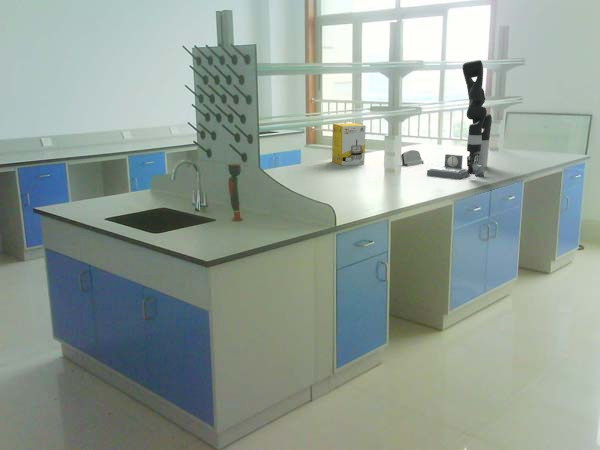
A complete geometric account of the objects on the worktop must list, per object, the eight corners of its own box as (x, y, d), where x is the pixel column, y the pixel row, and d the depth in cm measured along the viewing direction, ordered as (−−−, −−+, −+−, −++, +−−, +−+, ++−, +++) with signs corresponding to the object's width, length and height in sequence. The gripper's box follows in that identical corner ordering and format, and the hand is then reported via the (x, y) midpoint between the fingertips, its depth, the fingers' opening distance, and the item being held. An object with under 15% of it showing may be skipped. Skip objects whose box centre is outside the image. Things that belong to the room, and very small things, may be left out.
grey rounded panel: (407, 166, 385) (404, 150, 385) (402, 167, 389) (398, 152, 389) (424, 163, 396) (420, 148, 396) (418, 164, 399) (415, 150, 400)
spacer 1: (469, 172, 344) (470, 162, 342) (477, 173, 341) (478, 162, 339) (466, 173, 340) (466, 163, 338) (474, 174, 337) (475, 164, 335)
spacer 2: (476, 174, 356) (477, 164, 354) (485, 175, 353) (485, 165, 351) (473, 176, 352) (474, 166, 350) (482, 177, 349) (483, 166, 347)
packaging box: (354, 160, 407) (355, 123, 401) (364, 164, 392) (365, 125, 386) (332, 161, 402) (332, 123, 396) (341, 165, 387) (342, 126, 381)
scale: (437, 171, 367) (438, 153, 364) (469, 174, 356) (471, 156, 353) (426, 175, 354) (428, 156, 351) (459, 178, 343) (461, 159, 340)
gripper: (472, 140, 343) (470, 170, 348) (463, 143, 332) (461, 174, 337) (485, 141, 339) (482, 171, 344) (476, 144, 328) (474, 175, 333)
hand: (472, 172), depth 340 cm, fingers closed on spacer 1, 5 cm apart
